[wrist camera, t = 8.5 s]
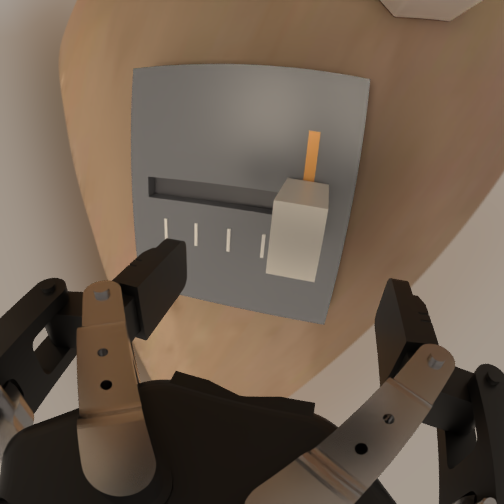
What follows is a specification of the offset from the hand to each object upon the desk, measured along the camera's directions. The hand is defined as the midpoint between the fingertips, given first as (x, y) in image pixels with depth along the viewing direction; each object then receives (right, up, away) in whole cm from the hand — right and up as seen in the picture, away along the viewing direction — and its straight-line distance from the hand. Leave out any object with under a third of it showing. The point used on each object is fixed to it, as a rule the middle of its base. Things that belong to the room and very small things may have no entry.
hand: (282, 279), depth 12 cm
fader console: (-2, +6, +12) cm, 13 cm away
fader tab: (+2, +4, +9) cm, 10 cm away
